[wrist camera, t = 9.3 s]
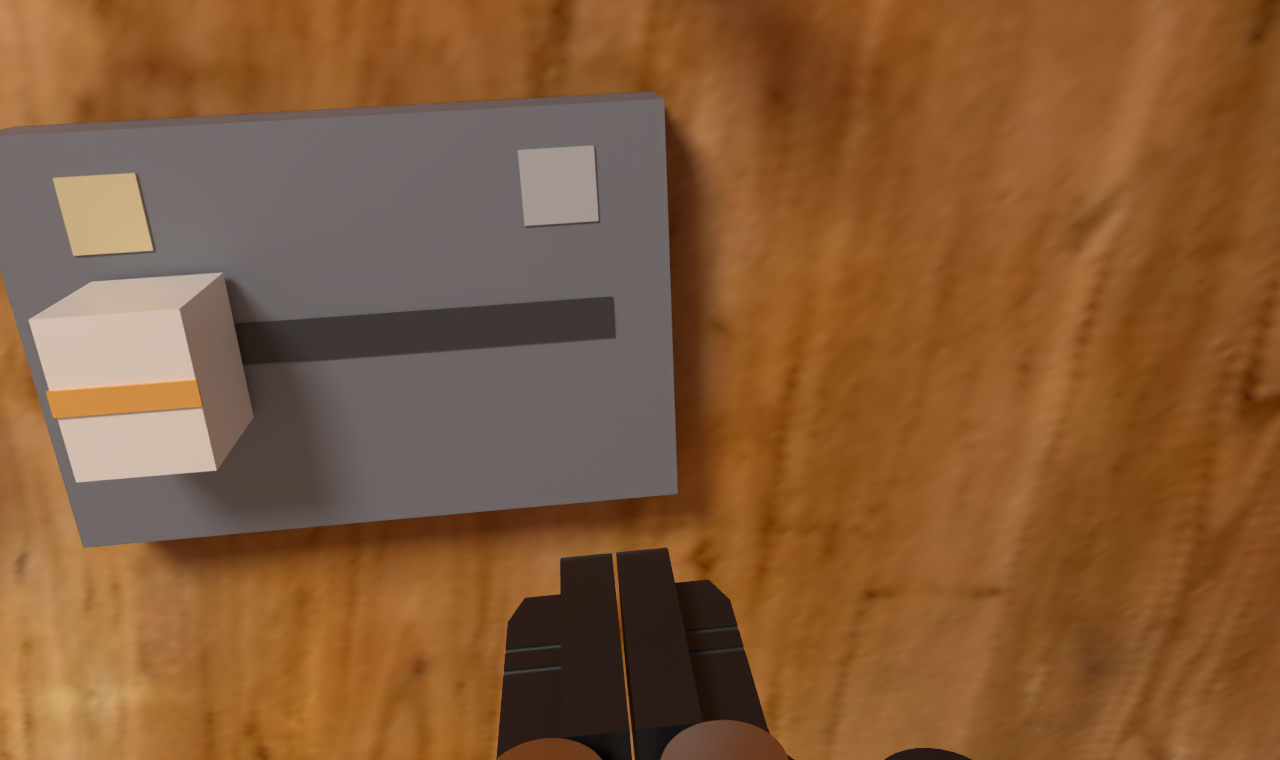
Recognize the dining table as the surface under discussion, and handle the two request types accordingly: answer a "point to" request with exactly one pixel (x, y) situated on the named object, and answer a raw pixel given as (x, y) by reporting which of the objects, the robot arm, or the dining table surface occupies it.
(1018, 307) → the dining table surface
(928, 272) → the dining table surface
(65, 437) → the fader knob
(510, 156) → the fader console
